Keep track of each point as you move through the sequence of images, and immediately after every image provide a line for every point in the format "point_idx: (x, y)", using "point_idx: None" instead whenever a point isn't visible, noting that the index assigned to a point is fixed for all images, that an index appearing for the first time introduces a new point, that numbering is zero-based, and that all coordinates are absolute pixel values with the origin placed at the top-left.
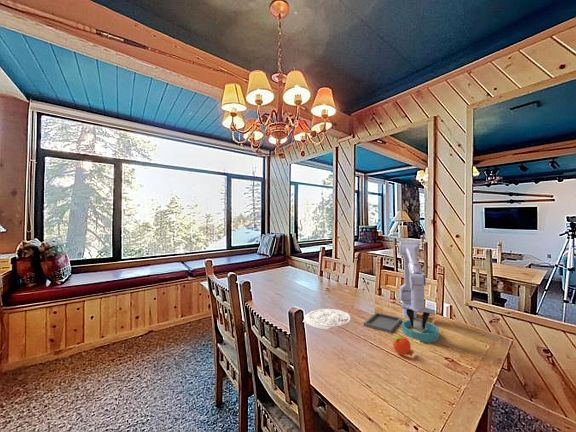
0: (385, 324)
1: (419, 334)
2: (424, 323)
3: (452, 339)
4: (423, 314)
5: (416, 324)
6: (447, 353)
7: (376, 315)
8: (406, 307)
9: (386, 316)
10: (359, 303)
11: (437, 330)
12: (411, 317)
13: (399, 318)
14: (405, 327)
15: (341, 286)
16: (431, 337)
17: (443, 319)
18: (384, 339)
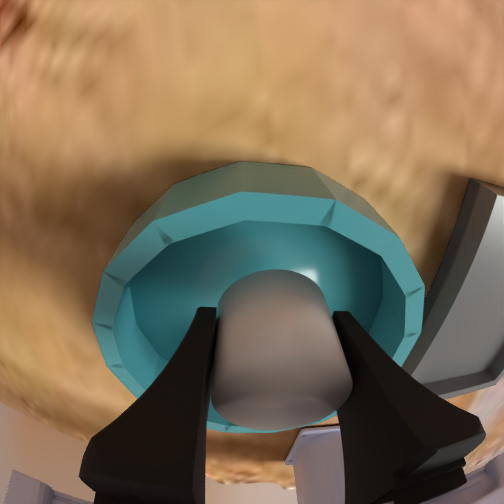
0: (484, 305)
1: (240, 187)
2: (180, 354)
3: (64, 329)
4: (174, 499)
5: (296, 316)
6: (18, 99)
7: (497, 365)
8: (489, 501)
9: (458, 384)
10: (498, 412)
11: (107, 349)
12: (388, 391)
13: None
14: (401, 271)
15: (496, 447)
16: (130, 236)
17: None
18: (500, 83)
